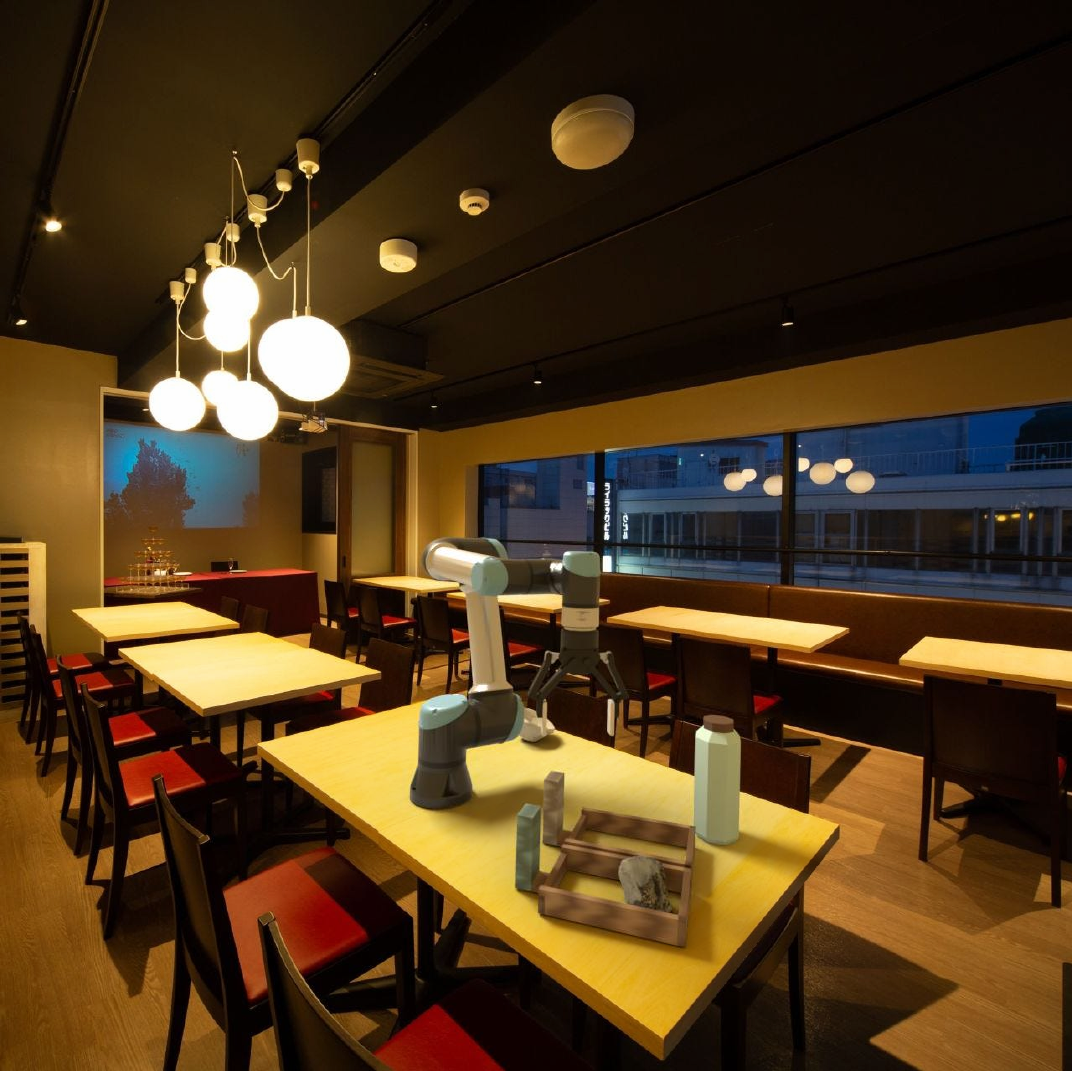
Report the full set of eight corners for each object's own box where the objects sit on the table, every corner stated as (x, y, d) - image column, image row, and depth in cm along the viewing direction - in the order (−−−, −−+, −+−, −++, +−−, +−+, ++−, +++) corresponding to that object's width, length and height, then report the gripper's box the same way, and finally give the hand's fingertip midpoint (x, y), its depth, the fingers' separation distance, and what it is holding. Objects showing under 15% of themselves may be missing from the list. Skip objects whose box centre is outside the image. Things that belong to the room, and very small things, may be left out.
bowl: (555, 749, 174) (556, 716, 174) (509, 747, 174) (510, 714, 175) (554, 732, 189) (555, 702, 189) (511, 731, 189) (512, 700, 190)
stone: (677, 853, 98) (618, 841, 101) (671, 919, 91) (608, 903, 94) (678, 876, 104) (622, 864, 107) (672, 940, 97) (613, 924, 100)
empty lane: (534, 855, 114) (536, 789, 115) (556, 820, 129) (557, 762, 129) (691, 887, 105) (692, 815, 105) (695, 845, 120) (696, 782, 120)
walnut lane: (504, 904, 99) (506, 828, 99) (532, 858, 113) (534, 792, 114) (685, 947, 89) (687, 863, 90) (690, 890, 104) (692, 818, 104)
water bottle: (685, 824, 130) (687, 712, 130) (728, 823, 130) (730, 712, 131) (701, 847, 120) (704, 726, 120) (748, 847, 120) (751, 726, 121)
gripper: (519, 630, 111) (516, 740, 111) (645, 631, 114) (643, 739, 113) (517, 624, 119) (514, 727, 119) (635, 625, 121) (633, 727, 121)
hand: (577, 733), depth 116 cm, fingers open, 13 cm apart
